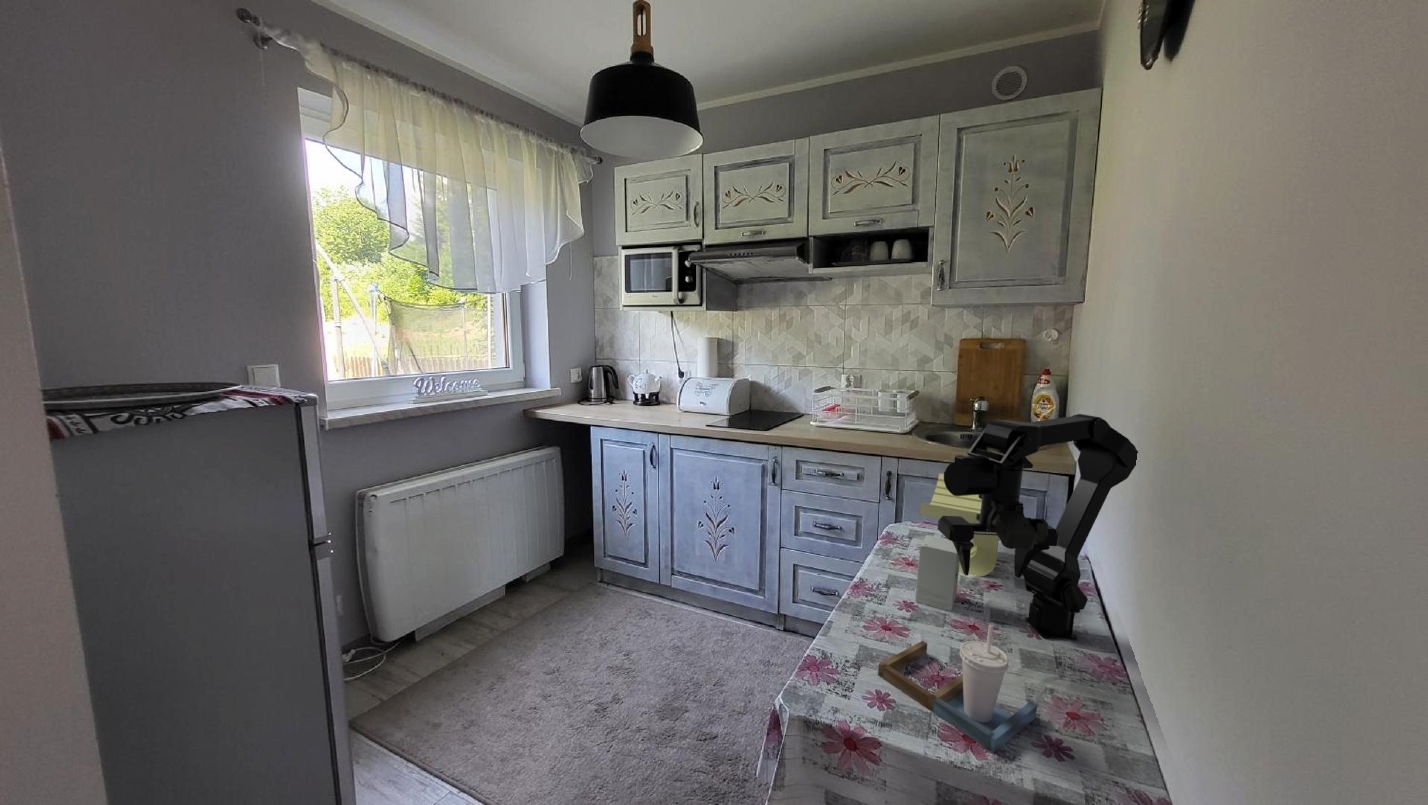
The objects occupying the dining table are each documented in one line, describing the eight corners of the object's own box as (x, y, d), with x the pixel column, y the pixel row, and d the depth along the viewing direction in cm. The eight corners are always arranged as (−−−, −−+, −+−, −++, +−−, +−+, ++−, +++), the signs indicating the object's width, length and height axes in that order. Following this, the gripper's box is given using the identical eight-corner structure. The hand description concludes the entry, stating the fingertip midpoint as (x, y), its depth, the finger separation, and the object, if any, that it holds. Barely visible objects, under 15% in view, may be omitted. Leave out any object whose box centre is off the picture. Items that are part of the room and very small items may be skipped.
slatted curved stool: (992, 595, 113) (1000, 517, 111) (914, 576, 121) (921, 502, 119) (998, 547, 139) (1005, 483, 136) (934, 534, 147) (939, 473, 144)
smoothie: (1011, 729, 74) (1022, 638, 73) (968, 730, 74) (978, 638, 72) (986, 697, 81) (995, 613, 79) (946, 698, 80) (954, 613, 78)
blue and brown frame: (921, 651, 93) (922, 640, 92) (1035, 717, 77) (1037, 705, 77) (877, 675, 86) (878, 664, 86) (993, 753, 70) (995, 739, 70)
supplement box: (952, 612, 106) (957, 553, 104) (913, 601, 110) (918, 544, 108) (957, 597, 112) (962, 541, 110) (920, 587, 116) (925, 533, 114)
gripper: (968, 504, 84) (958, 595, 86) (1085, 510, 84) (1073, 601, 86) (940, 484, 95) (932, 565, 97) (1044, 489, 95) (1033, 570, 97)
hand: (991, 575), depth 94 cm, fingers open, 9 cm apart
